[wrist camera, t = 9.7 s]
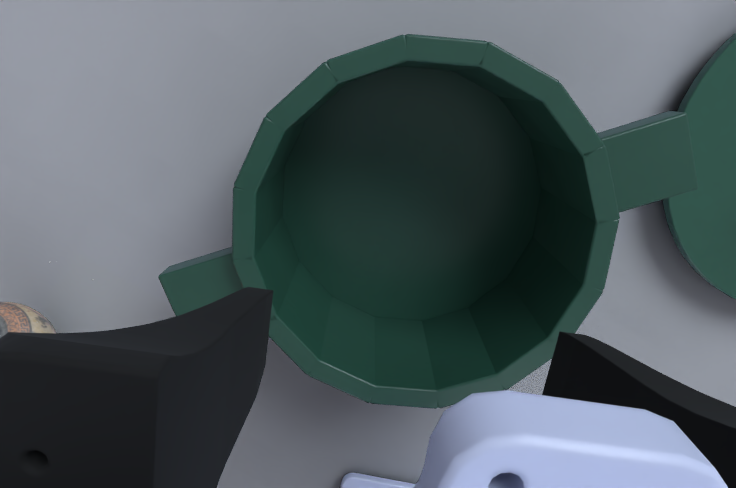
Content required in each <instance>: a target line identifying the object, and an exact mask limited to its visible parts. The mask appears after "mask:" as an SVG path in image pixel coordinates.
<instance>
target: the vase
mask: <svg viewBox="0 0 736 488" xmlns="http://www.w3.org/2000/svg"><path fill="white" fill-rule="evenodd" d="M49 263H50V262H49ZM92 280H93V279H92ZM8 332H21V333H56V331H55V329H54V327H53V326H52V324H51V323H50V322H49V321H48V320H47V319H46V318H45V317H44V316H43V315H42V314H40V313H39V312H37V311H36V310H34V309H32V308H30V307H28V306H25V305H22V304H18V303H11V302H1V303H0V338H1V337H2V336H4V335H5V334H7V333H8Z"/></svg>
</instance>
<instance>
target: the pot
mask: <svg viewBox="0 0 736 488" xmlns="http://www.w3.org/2000/svg"><path fill="white" fill-rule="evenodd" d="M234 186H235V187H234V188H233V222H232V247H230V248H227V249H223V250H220V251H217V252H214V253H210V254H207V255H204V256H201V257H198V258H194V259H191V260H188V261H185V262H182V263H178V264H175V265H172V266H169V267H168V268H167V269H166V270H165V271H164V272H162V273H161V274H160V275H159V280H160V282H161V284H162V287H163V289H164V291H165V293H166V295H167V298H168V300H169V302H170V304H171V306H172V309H173V311H174V313H175V315H176V316H179V315H182V314H185V313H187V312H190V311H192V310H195V309H198V308H200V307H203V306H205V305H208V304H210V303H212V302H214V301H217V300H219V299H221V298H223V297H225V296H228V295H230V294H232V293H234V292H236V291H238V290H241V289H243V288H246V287H253V288H260V289H267V290H273V299H272V308H271V317H270V326H269V335H268V336H269V337H270V338H271V339H272V340H273V341H274V342H275V343H276V344H277V345H278V346H279V347H280V348H281V349H282V350H283V351H284V352H285V353H286V354H287V355H288V356H289V357H290V358H291V359H292V360H293V361H294V362H295V363H296V365H297V366H298V367H299V368H300V369H301V370H302V371H303V372H304V373H305V374H308V375H309V376H310V377H312V378H315V379H317V380H319V381H321V382H323V383H325V384H328V385H330V386H332V387H334V388H336V389H339V390H341V391H343V392H345V393H347V394H350V395H352V396H354V397H356V398H358V399H361V400H363V401H365V402H367V403H369V402H370V403H372V404H383V405H396V406H409V407H422V408H435V409H436V408H443V407H446V406H450V405H454V404H456V403H458V402H459V401H461V400H463V399H464V398H466V397H467V396H469V395H471V394H472V393H482V392H492V391H503V390H504V389H505V390H507V389H509V388H510V387H512V386H513V385H514V384H516V383H517V382H519V381H520V380H522V379H523V378H524V377H526V376H527V375H529V374H530V373H532V372H533V371H534V370H536V369H537V368H539V367H540V366H542V365H543V364H544V363H546V362H547V361H549V360H550V359H552V358H553V354H554V350H555V347H556V343H557V339H558V336H559V332H567V333H574V334H575V332H576V331H577V329H578V328H579V326H580V325H581V323H582V322H583V320H584V319H585V318H586V316H587V315H588V313H589V312H590V310H591V309H592V307H593V306H594V304H595V303H596V301H597V300H598V299H599V297H600V296H601V294H602V293H603V289H604V287H605V282H606V278H607V273H608V269H609V264H610V260H611V255H612V250H613V246H614V241H615V237H616V232H617V228H618V223H619V220H618V219H619V218H620V217H619V212H622V211H626V210H629V209H633V208H636V207H639V206H643V205H646V204H649V203H653V202H656V201H660V200H663V199H666V198H670V197H673V196H676V195H680V194H683V193H687V192H690V191H693V190H696V189H698V182H697V176H696V169H695V162H694V156H693V149H692V143H691V136H690V130H689V123H688V116H687V114H686V113H684V112H674V111H667V112H664V113H661V114H658V115H655V116H651V117H648V118H645V119H642V120H638V121H635V122H632V123H629V124H626V125H622V126H619V127H616V128H613V129H609V130H606V131H603V132H600V133H596V132H595V130H594V129H593V127H592V126H591V125H590V123H589V122H588V120H587V119H586V118H585V116H584V115H583V113H582V112H581V111H580V109H579V108H578V106H577V105H576V104H575V102H574V101H573V100H572V98H571V97H570V95H569V94H568V93H567V91H566V90H565V88H564V87H563V86H562V84H561V83H559V81H558V80H556V79H555V78H553V77H551V76H549V75H548V74H546V73H544V72H542V71H540V70H539V69H537V68H535V67H533V66H532V65H530V64H528V63H526V62H525V61H523V60H521V59H519V58H517V57H516V56H514V55H512V54H510V53H509V52H507V51H505V50H503V49H502V48H500V47H498V46H496V45H495V44H493V43H491V42H486V41H480V40H469V39H458V38H447V37H436V36H424V35H413V34H407V35H400V36H397V37H394V38H391V39H388V40H385V41H382V42H379V43H376V44H373V45H370V46H367V47H364V48H361V49H358V50H355V51H353V52H350V53H347V54H344V55H341V56H338V57H335V58H332V59H329V60H328V61H327V62H324V63H322V64H321V65H320V66H319V67H318V68H317V69H316V70H315V71H313V72H312V73H311V74H310V75H309V76H308V77H307V78H306V79H305V80H304V81H302V82H301V83H300V84H299V85H298V86H297V87H296V88H295V89H294V90H293V91H291V92H290V93H289V94H288V95H287V96H286V97H285V98H284V99H283V100H281V101H280V102H279V103H278V104H277V105H276V106H275V107H274V108H273V109H272V110H270V111H269V112H268V113H267V115H266V117H265V118H264V119H263V121H262V123H261V125H260V128H259V130H258V132H257V134H256V137H255V139H254V141H253V143H252V145H251V148H250V150H249V152H248V154H247V156H246V159H245V161H244V163H243V165H242V168H241V170H240V172H239V174H238V176H237V179H236V181H235V183H234Z"/></svg>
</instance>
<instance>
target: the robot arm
mask: <svg viewBox="0 0 736 488" xmlns="http://www.w3.org/2000/svg"><path fill="white" fill-rule="evenodd" d="M272 299H273V290H267V289H260V288H253V287H246V288H243V289H241V290H238V291H236V292H234V293H232V294H230V295H228V296H225V297H223V298H221V299H219V300H217V301H214V302H212V303H210V304H208V305H205V306H203V307H200V308H198V309H195V310H192V311H190V312H187V313H185V314H182V315H179V316H176V317H173V318H169V319H166V320H162V321H158V322H154V323H150V324H146V325H141V326H134V327H128V328H122V329H116V330H109V331H98V332H85V333H21V332H8V333H7V334H5V335H4V336H2V337H1V338H0V488H217V485H218V482H219V479H220V476H221V474H222V471H223V469H224V466H225V464H226V462H227V459H228V457H229V455H230V453H231V451H232V449H233V446H234V444H235V442H236V440H237V438H238V435H239V433H240V431H241V429H242V427H243V425H244V422H245V420H246V418H247V416H248V413H249V411H250V409H251V407H252V405H253V402H254V400H255V398H256V395H257V392H258V388H259V385H260V382H261V378H262V375H263V371H264V367H265V363H266V353H267V344H268V335H269V326H270V317H271V308H272ZM340 488H736V407H734V406H732V405H729V404H727V403H724V402H722V401H720V400H717V399H715V398H712V397H710V396H707V395H705V394H703V393H701V392H699V391H696V390H694V389H692V388H690V387H688V386H686V385H684V384H682V383H680V382H678V381H676V380H674V379H672V378H670V377H668V376H666V375H664V374H662V373H660V372H658V371H656V370H654V369H652V368H650V367H648V366H647V365H645V364H643V363H641V362H639V361H637V360H635V359H634V358H632V357H630V356H628V355H626V354H624V353H622V352H621V351H619V350H617V349H615V348H613V347H611V346H609V345H607V344H605V343H603V342H601V341H599V340H597V339H594V338H592V337H589V336H586V335H581V334H574V333H567V332H559V336H558V339H557V343H556V347H555V350H554V354H553V358H552V361H551V365H550V368H549V372H548V376H547V379H546V383H545V387H544V390H543V394H542V395H537V394H530V393H523V392H516V391H508V390H503V391H492V392H482V393H472V394H471V395H469V396H467V397H466V398H464V399H463V400H461V401H459V402H458V403H456V404H454V405H453V406H451V407H450V408H448V409H446V410H445V411H444V412H443V414H442V416H441V418H440V420H439V422H438V423H437V425H436V427H435V429H434V431H433V433H432V434H431V436H430V440H429V444H428V449H427V454H426V458H425V463H424V468H423V470H422V473H421V475H420V478H419V481H418V482H417V483H416V484H412V483H407V482H402V481H396V480H391V479H386V478H380V477H375V476H370V475H364V474H359V473H348V474H346V475H345V476H344V477H343V479H342V483H341V487H340Z"/></svg>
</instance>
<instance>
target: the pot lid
mask: <svg viewBox="0 0 736 488" xmlns="http://www.w3.org/2000/svg"><path fill="white" fill-rule="evenodd" d="M677 112H684V113H686V114H687V116H688V123H689V130H690V136H691V143H692V149H693V156H694V162H695V169H696V176H697V182H698V189H696V190H693V191H690V192H687V193H683V194H680V195H676V196H673V197H670V198H666V199H663V207H664V211H665V215H666V219H667V223H668V226H669V229H670V231H671V234H672V236H673V238H674V241H675V243H676V245H677V246H678V248H679V250H680V251H681V253H682V255H683V256H684V258H685V259H686V261H687V262H688V263H689V264H690V265H691V266H692V268H693V269H694V270H695V271H696V272H697V273H698V274H699V275H700V276H701V277H702V278H704V279H705V280H706V281H707V282H708V283H709V284H711V285H712V286H714V287H715V288H717V289H718V290H720V291H722V292H723V293H725V294H726V295H728V296H730V297H731V298H734V299H736V33H735V34H734V35H733V36H731V37H730V38H729V39H728V40H727V41H726V42H725V43H724V44H723V45H722V46H721V47H720V48H719V49H718V50H717V52H716V53H715V54H714V55H713V56H712V57H711V58H710V59H709V60H708V62H707V63H706V64H705V66H704V67H703V68H702V70H701V71H700V72H699V74H698V75H697V76H696V78H695V79H694V81H693V82H692V84H691V86H690V88H689V89H688V91H687V93H686V94H685V96H684V98H683V100H682V101H681V104H680V106H679V108H678V111H677Z"/></svg>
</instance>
